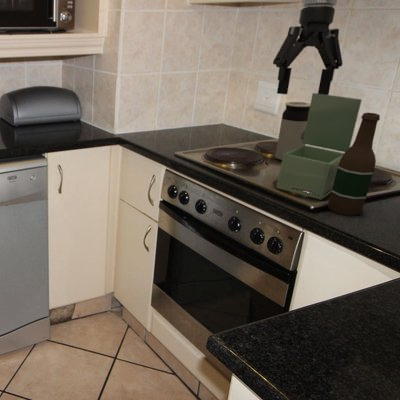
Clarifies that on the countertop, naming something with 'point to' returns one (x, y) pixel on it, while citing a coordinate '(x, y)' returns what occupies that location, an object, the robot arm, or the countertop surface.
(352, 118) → the canister lid
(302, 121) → the travel mug
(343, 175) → the beer bottle
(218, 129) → the countertop surface
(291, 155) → the green open box
